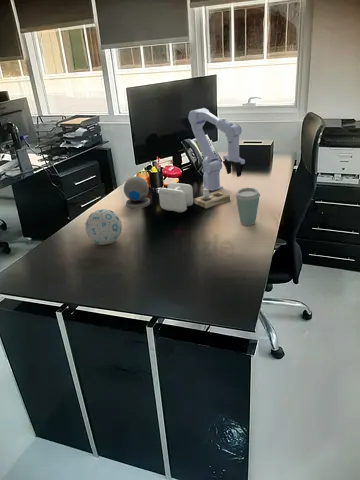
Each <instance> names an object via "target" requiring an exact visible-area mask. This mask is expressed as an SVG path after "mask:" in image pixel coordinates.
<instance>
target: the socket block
mask: <svg viewBox="0 0 360 480" xmlns="http://www.w3.org/2000/svg"><path fill="white" fill-rule="evenodd" d="M228 201H229V202H230V201H231V195H230V194H227V193H225V192H221V191H219V190H217V191H216V190H215V191H212V192H209V200H208V201H203V195H202V196H198V197H196V198H193V204H196V205H197V206H199V207H201V208H204V209H209V208H211V207H214V206H217V205H220V204H223V203H225V202H226V203H227V202H228Z"/></svg>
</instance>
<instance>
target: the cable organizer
mask: <svg viewBox="0 0 360 480" xmlns="http://www.w3.org/2000/svg"><path fill="white" fill-rule="evenodd" d="M193 191H194V190H193V186H192V185H191V184H188V183H187V184H186V183H181V182H180V183H179V182H172V181H171V182H169V183H168V184H167V188H166V187H161V188H160V189H158V197H159V205H160V208H161V209H163V210H165V211H172V212H177V213H183V212H185V211H187V210H188V208H187V207H189V206H192V205H193V204H194V192H193Z"/></svg>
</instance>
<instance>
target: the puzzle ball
mask: <svg viewBox="0 0 360 480" xmlns="http://www.w3.org/2000/svg"><path fill="white" fill-rule="evenodd" d="M122 228H123V223H122V221H121V219H120V217H119V215H117V214H116V213H115V212H114V211H113V210H110V209H107V208H102V209H97V210H95V211H93V212H91V213H90V214H89V216H88V217H87V219H86V221H85V233H86V234H87V237H88V238H89V240H91V241H92V242H93V243H94V244H95V243H96V244H97V245H100V246H106V245H110V244H112V243H114V242H115V241H116V240H118V238H120V236H121V233H122Z"/></svg>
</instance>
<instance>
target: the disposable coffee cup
mask: <svg viewBox="0 0 360 480" xmlns="http://www.w3.org/2000/svg"><path fill="white" fill-rule="evenodd" d="M234 197H235V201H236V206H237V210H238V217H239V221H240V224H242V225H243V226H252V225H254V224H255V223H256V221H257V217H258V216H257V215H258V209H259V203H260V197H261V193H260V192H259V190H258V189H257V188H255V187H243V188H239V189H238V190H237V191H236V193H235V196H234Z"/></svg>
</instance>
